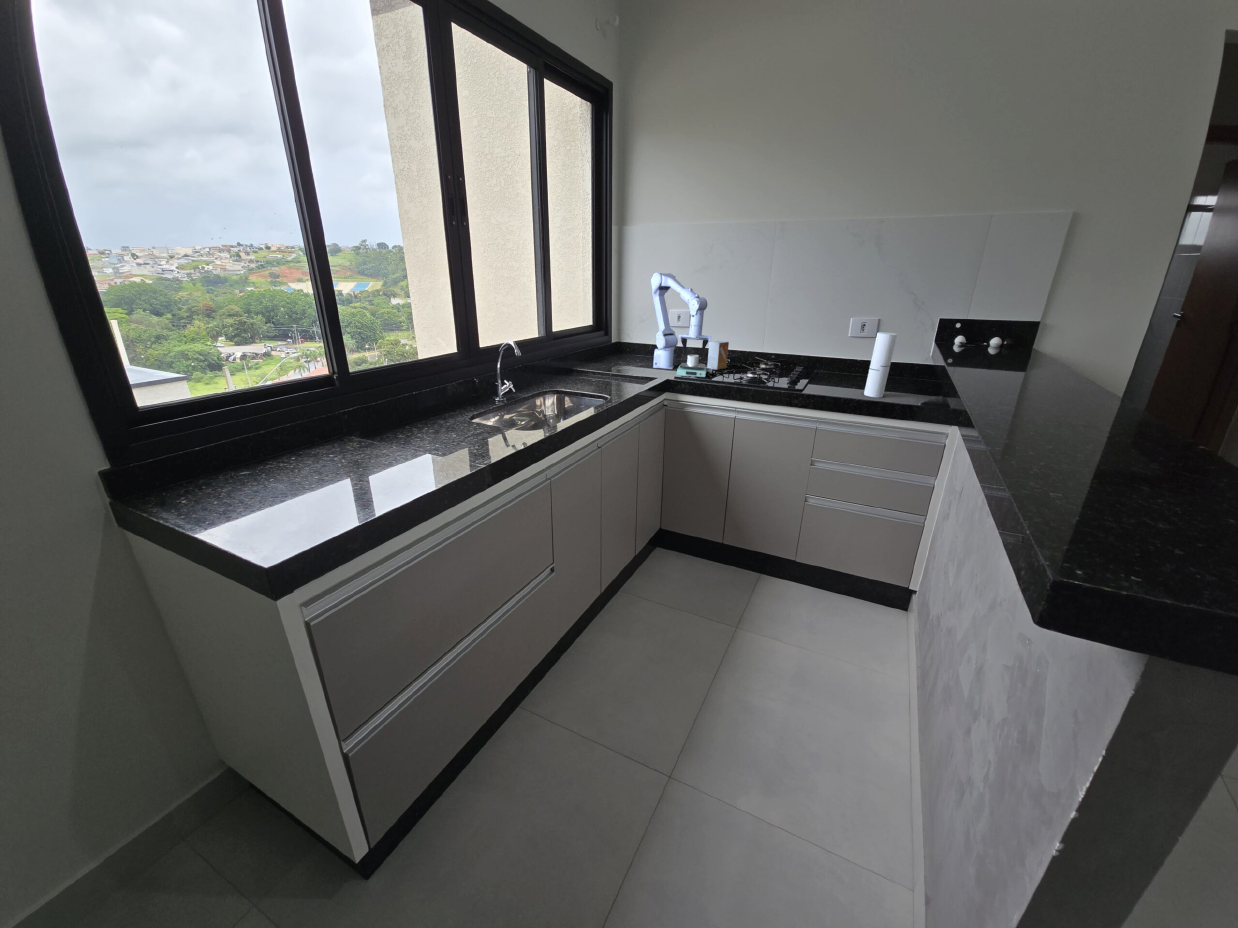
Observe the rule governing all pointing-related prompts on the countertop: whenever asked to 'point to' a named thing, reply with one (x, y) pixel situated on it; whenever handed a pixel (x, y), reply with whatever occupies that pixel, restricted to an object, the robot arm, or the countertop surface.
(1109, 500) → the countertop surface
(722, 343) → the small box
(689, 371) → the scale
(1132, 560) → the countertop surface
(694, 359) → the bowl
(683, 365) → the scale pan
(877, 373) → the cylindrical container
